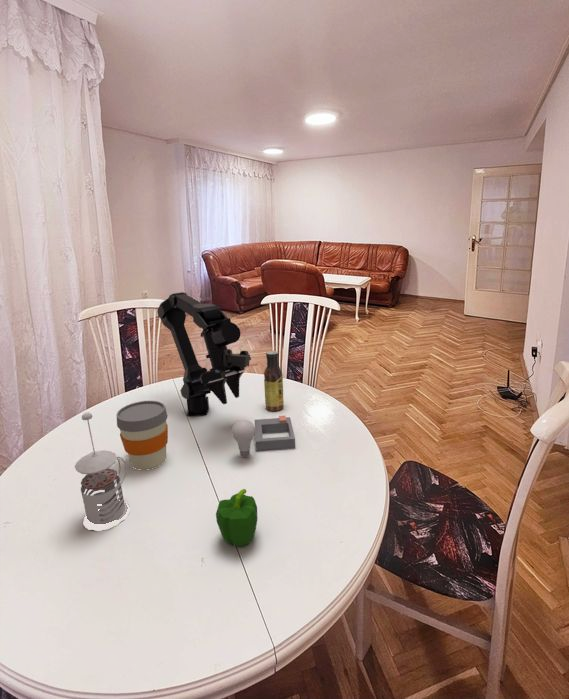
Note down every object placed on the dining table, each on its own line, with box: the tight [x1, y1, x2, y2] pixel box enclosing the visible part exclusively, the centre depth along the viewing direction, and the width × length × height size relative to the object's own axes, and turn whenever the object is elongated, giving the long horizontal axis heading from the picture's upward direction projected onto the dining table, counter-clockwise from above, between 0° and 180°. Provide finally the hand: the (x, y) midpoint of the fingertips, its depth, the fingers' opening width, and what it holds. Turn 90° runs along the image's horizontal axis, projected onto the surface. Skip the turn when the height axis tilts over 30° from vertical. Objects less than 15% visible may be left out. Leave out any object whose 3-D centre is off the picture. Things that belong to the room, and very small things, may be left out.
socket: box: [254, 415, 296, 452], centre depth 117 cm, size 11×13×4 cm
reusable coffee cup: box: [116, 400, 169, 471], centre depth 106 cm, size 13×13×15 cm
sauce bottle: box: [263, 350, 284, 412], centre depth 134 cm, size 7×6×20 cm
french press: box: [74, 411, 128, 524], centre depth 85 cm, size 10×12×25 cm
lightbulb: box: [231, 418, 255, 459], centre depth 107 cm, size 6×6×11 cm
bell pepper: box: [215, 488, 258, 548], centre depth 79 cm, size 8×8×10 cm
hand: (231, 400), depth 116 cm, fingers open, 9 cm apart
